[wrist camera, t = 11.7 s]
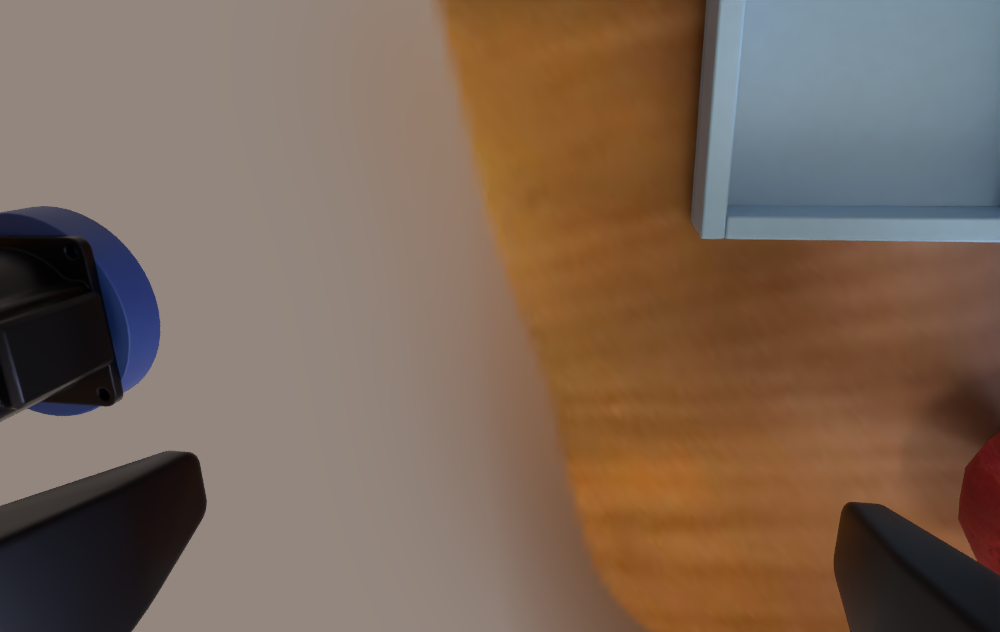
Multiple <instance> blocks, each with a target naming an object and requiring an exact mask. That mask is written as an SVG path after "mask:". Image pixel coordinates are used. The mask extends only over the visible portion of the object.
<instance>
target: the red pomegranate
mask: <svg viewBox="0 0 1000 632" xmlns="http://www.w3.org/2000/svg"><path fill="white" fill-rule="evenodd" d="M958 519H959V522H960V524H961V526H962V528H963V531H964V533H965V535H966V537H967V540H968V542H969V544H970V546H971V549H972V551H973V553H974V555H975V557H976V559H977V561H978V562H979V563H980V564H982V565H984V566H985V567H987V568H989V569H990V570H992V571H994V572H995V573H997V574H999V575H1000V432H999V433H998V434H996V435H994V436H993V437H991V438H989V439H988V441H987V442H986V443H985V444H984V446H983V447H982V448H981V449H980V450H979V452H978V453H977V454H976V455H975V456H974V458H973V459H972V460H971V461H970V463H969V464H968V465H967V466H966V468H965V473H964V479H963V484H962V490H961V495H960V502H959V516H958Z"/></svg>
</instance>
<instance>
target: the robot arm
mask: <svg viewBox="0 0 1000 632" xmlns="http://www.w3.org/2000/svg"><path fill="white" fill-rule="evenodd" d="M74 247H75V248H76V250H77V252H78V255H77V254H76V253H75V251H74ZM106 390H107V391H108V392H109V394H110V395H109V394H108V393H107V391H106ZM122 397H123V388H122V383H121V378H120V374H119V369H118V365H117V360H116V356H115V351H114V346H113V342H112V337H111V333H110V328H109V324H108V319H107V314H106V310H105V305H104V301H103V296H102V292H101V287H100V282H99V278H98V273H97V269H96V264H95V260H94V255H93V250H92V248H91V245H90V244H89V242H88V241H87V240H86V239H84V238H83V237H80V236H58V235H0V422H1V421H3V420H5V419H7V418H9V417H11V416H13V415H15V414H17V413H19V412H21V411H23V410H25V409H27V408H29V407H31V406H33V405H35V404H37V403H39V402H45V403H61V404H77V405H93V406H111V405H113V404H115V403H116V402H118V401H120V400H121V399H122ZM206 502H207V500H206V494H205V489H204V483H203V478H202V473H201V467H200V463H199V460H198V458H197V456H196V455H194V454H193V453H190V452H179V451H165V452H162V453H159V454H156V455H153V456H150V457H147V458H144V459H141V460H138V461H135V462H132V463H129V464H126V465H123V466H120V467H117V468H114V469H111V470H108V471H105V472H102V473H99V474H96V475H93V476H89V477H87V478H83V479H80V480H78V481H74V482H72V483H68V484H65V485H62V486H59V487H56V488H53V489H50V490H48V491H44V492H41V493H38V494H35V495H32V496H29V497H26V498H23V499H20V500H17V501H14V502H11V503H8V504H5V505H2V506H0V632H131V631H132V630H133V629H134V628H135V626H136V625H137V623H138V622H139V621H140V619H141V618H142V616H143V615H144V613H145V612H146V610H147V609H148V608H149V606H150V605H151V603H152V601H153V600H154V598H155V597H156V595H157V594H158V592H159V590H160V589H161V587H162V585H163V584H164V582H165V580H166V579H167V577H168V575H169V574H170V572H171V570H172V568H173V567H174V565H175V564H176V562H177V560H178V559H179V557H180V555H181V554H182V552H183V550H184V548H185V547H186V545H187V544H188V542H189V540H190V539H191V537H192V535H193V534H194V532H195V530H196V529H197V527H198V525H199V524H200V522H201V520H202V519H203V516H204V513H205V511H206ZM834 572H835V577H836V581H837V585H838V588H839V592H840V596H841V599H842V603H843V606H844V610H845V614H846V617H847V621H848V624H849V628H850V632H1000V575H999V574H997V573H995V572H994V571H992V570H990V569H989V568H987V567H985V566H984V565H982V564H980V563H979V562H977V561H975V560H974V559H972V558H970V557H969V556H967V555H965V554H964V553H962V552H960V551H959V550H957V549H955V548H954V547H952V546H950V545H949V544H947V543H945V542H944V541H942V540H940V539H939V538H937V537H935V536H934V535H932V534H930V533H929V532H927V531H925V530H923V529H922V528H920V527H918V526H917V525H915V524H913V523H912V522H910V521H908V520H907V519H905V518H903V517H902V516H900V515H898V514H897V513H895V512H893V511H892V510H890V509H888V508H887V507H885V506H883V505H880V504H873V503H859V502H849V503H847V504H846V505H845V506H844V507H843V509H842V512H841V517H840V523H839V529H838V535H837V541H836V547H835V553H834Z"/></svg>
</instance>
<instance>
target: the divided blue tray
mask: <svg viewBox="0 0 1000 632" xmlns="http://www.w3.org/2000/svg"><path fill="white" fill-rule="evenodd" d="M691 224H692V225H693V226H694V228H695V229H696V231H697V232H698V234H699V235H700V237H701V238H703V239H723V238H724V237H725V238H726V239H762V240H847V241H932V242H1000V0H706V10H705V25H704V39H703V53H702V67H701V81H700V95H699V109H698V123H697V137H696V152H695V166H694V180H693V194H692V208H691Z"/></svg>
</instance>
